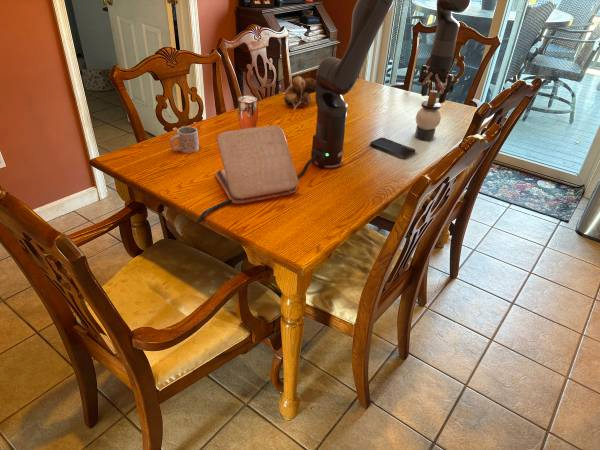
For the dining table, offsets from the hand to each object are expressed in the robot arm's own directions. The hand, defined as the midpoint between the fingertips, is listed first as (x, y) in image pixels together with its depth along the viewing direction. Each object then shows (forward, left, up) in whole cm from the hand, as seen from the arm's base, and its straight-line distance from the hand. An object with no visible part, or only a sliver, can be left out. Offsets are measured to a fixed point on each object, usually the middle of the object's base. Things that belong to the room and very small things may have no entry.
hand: (432, 99), depth 163 cm
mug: (-84, +29, -15) cm, 90 cm away
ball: (0, 0, -7) cm, 7 cm away
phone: (-19, -3, -15) cm, 24 cm away
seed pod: (-25, +51, -15) cm, 59 cm away
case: (-74, -3, -15) cm, 76 cm away
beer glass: (-61, +27, -15) cm, 68 cm away
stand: (0, 0, -15) cm, 15 cm away
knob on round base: (0, 0, -3) cm, 3 cm away
